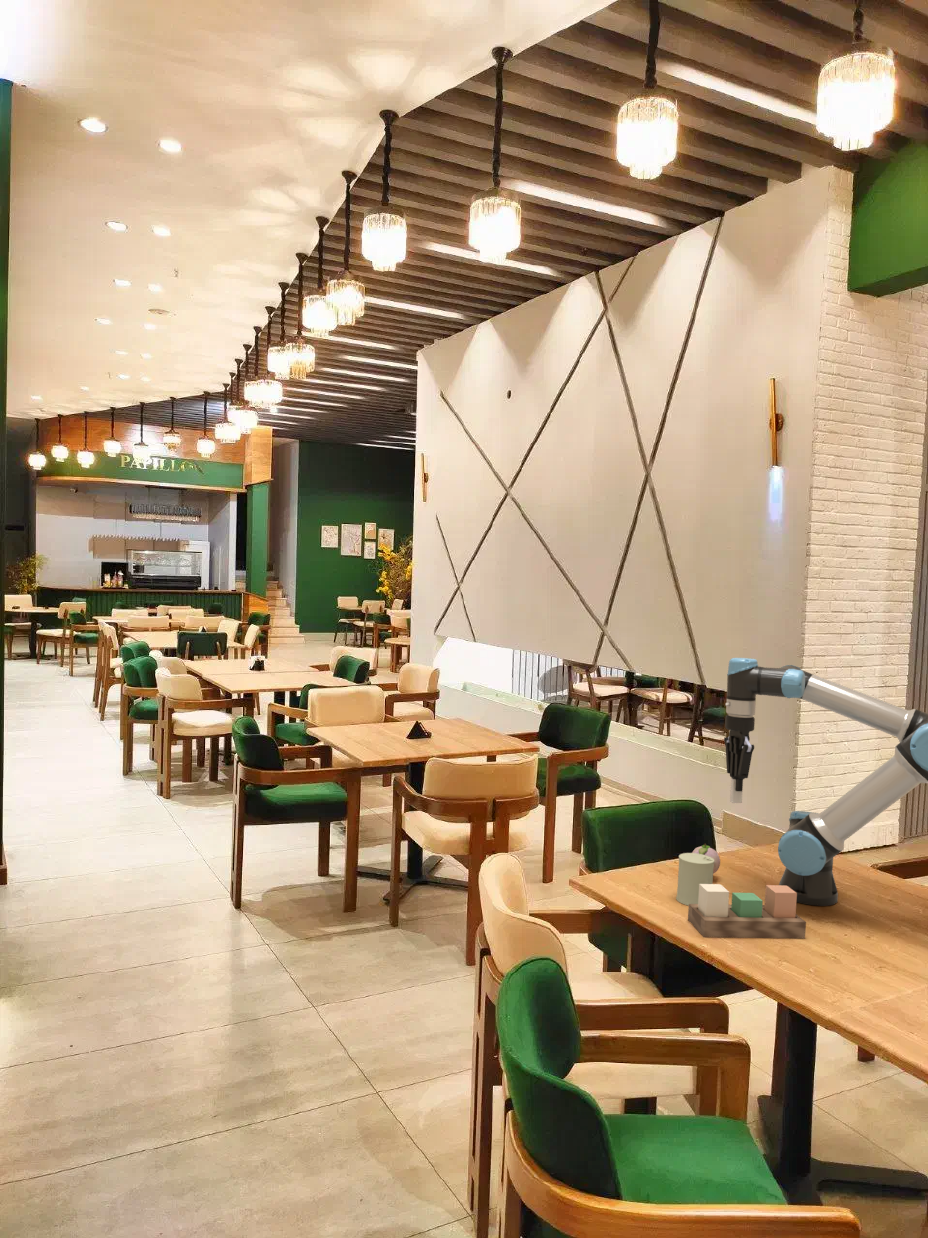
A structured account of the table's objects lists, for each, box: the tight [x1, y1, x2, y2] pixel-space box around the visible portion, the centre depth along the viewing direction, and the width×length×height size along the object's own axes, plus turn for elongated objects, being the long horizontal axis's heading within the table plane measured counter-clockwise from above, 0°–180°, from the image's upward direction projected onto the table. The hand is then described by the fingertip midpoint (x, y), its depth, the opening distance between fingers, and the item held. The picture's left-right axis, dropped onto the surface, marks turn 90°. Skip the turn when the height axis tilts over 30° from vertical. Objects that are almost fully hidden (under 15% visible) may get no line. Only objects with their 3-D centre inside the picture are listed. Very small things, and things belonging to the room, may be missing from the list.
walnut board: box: [687, 904, 807, 939], centre depth 216 cm, size 25×11×4 cm, turn 95°
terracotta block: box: [764, 884, 797, 918], centre depth 216 cm, size 5×5×7 cm
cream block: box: [698, 883, 730, 917], centre depth 215 cm, size 5×5×7 cm
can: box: [675, 852, 714, 907], centre depth 234 cm, size 9×9×12 cm
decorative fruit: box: [691, 843, 721, 875], centre depth 254 cm, size 9×8×10 cm
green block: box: [730, 892, 764, 918], centre depth 215 cm, size 5×5×7 cm
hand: (735, 802), depth 238 cm, fingers closed
